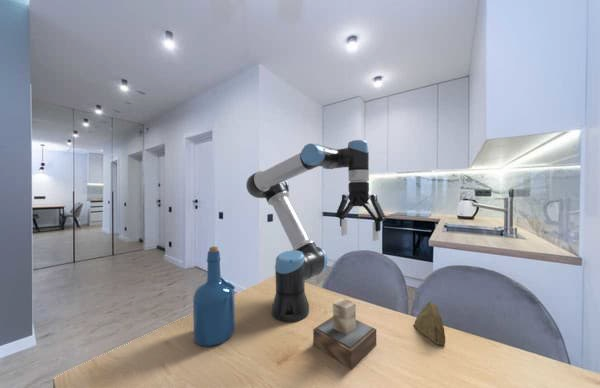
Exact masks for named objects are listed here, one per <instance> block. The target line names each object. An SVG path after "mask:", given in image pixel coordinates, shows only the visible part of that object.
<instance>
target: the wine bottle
mask: <svg viewBox="0 0 600 388" xmlns="http://www.w3.org/2000/svg"><path fill="white" fill-rule="evenodd" d="M218 249H219V248H218V246H210V247H209V249H208V251H207V257H206V262H207V266H206V267H207V271H206V281H205V282H203V283H202V284H201V285H200V286H199V285H198V287H197V288H196V289H195V290H194V293H193V299H192V300H193V301H192V302H193V303H192V307H193V309H192V310H193V311H192V312H193V313H192V316H193V340H194V342H195V343H196V344H197V343H198V345H199V346H200V347H213V346H217V345H221V344H223V343H225V342H227V341H228V340H229V339H230V338H231V337H232V335H233V334H234V333H235V329H236V320H235V319H236V317H235V314H236V313H235V311H236V310H235V309H236V308H235V287H236V286H235V285H233V284H231V283H230V282H229V281H227V279H224V278H223V277H222V276H221V254H220V253H221V252H220V250H218Z"/></svg>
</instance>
